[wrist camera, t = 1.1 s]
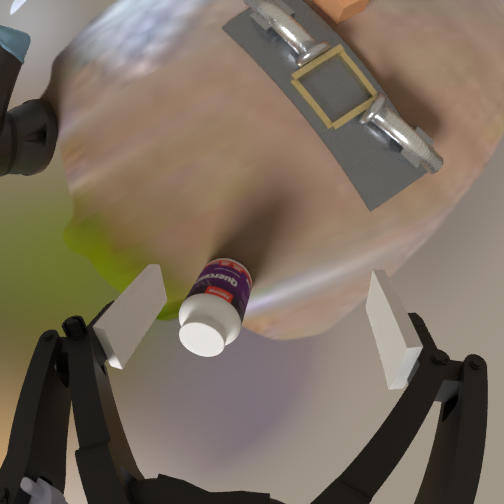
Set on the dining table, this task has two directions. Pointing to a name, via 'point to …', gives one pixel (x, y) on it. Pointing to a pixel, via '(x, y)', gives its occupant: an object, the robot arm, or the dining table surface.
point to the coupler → (341, 8)
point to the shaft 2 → (402, 135)
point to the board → (332, 101)
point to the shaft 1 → (286, 29)
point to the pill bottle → (215, 307)
